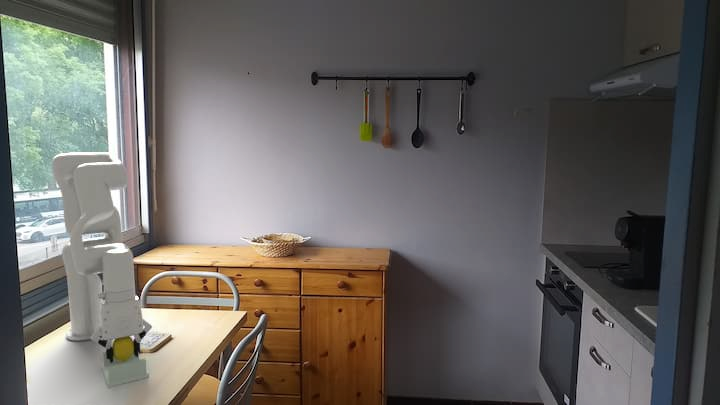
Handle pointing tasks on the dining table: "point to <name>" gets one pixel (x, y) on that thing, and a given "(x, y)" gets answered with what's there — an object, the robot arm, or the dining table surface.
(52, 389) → the dining table surface
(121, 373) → the holder
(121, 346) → the lemon
